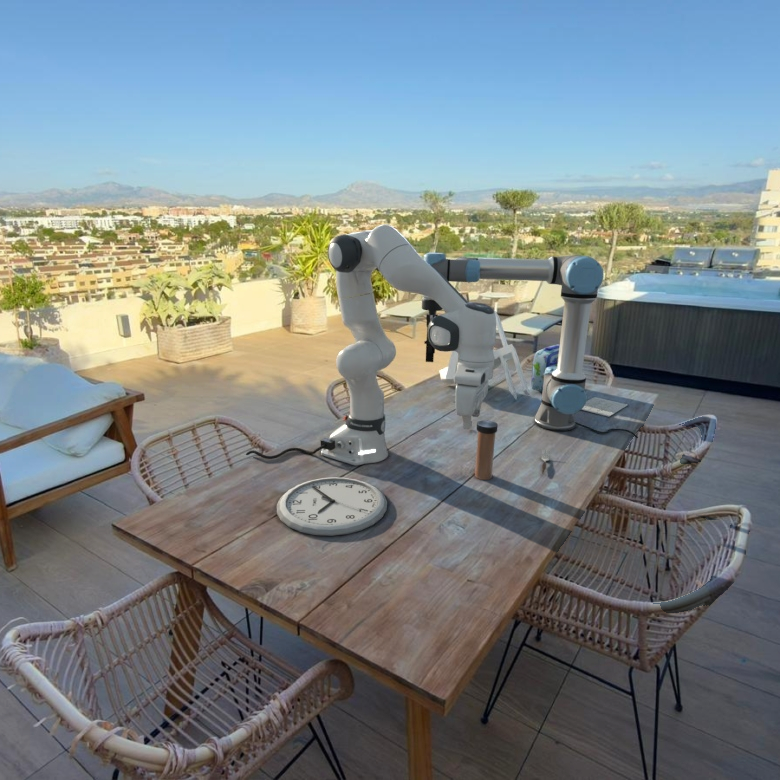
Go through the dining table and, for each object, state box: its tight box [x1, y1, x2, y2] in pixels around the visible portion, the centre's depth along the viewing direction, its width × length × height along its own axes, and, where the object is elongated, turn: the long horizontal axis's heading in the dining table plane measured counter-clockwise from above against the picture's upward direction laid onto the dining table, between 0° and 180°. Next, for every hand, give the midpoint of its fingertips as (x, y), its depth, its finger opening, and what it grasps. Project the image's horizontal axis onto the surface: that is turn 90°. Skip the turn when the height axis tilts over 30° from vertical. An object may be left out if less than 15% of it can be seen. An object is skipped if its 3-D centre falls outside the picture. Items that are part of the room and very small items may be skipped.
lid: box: [476, 419, 499, 434], centre depth 156 cm, size 6×6×2 cm
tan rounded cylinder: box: [474, 431, 496, 481], centre depth 159 cm, size 5×5×17 cm
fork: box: [541, 449, 551, 474], centre depth 169 cm, size 3×16×2 cm, turn 160°
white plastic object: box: [438, 310, 531, 400], centre depth 245 cm, size 37×45×31 cm
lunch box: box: [530, 344, 560, 393], centre depth 247 cm, size 26×11×21 cm, turn 134°
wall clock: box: [276, 476, 388, 537], centre depth 142 cm, size 30×2×30 cm
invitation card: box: [580, 396, 629, 418], centre depth 226 cm, size 21×1×15 cm
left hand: (471, 421), depth 134 cm, fingers open, 8 cm apart
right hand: (430, 357), depth 190 cm, fingers open, 13 cm apart
